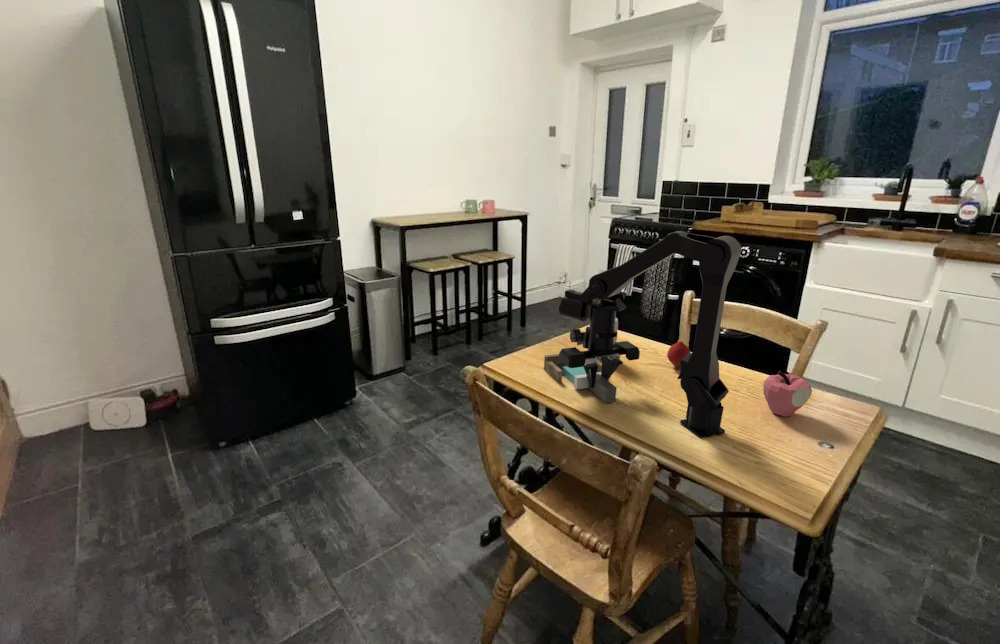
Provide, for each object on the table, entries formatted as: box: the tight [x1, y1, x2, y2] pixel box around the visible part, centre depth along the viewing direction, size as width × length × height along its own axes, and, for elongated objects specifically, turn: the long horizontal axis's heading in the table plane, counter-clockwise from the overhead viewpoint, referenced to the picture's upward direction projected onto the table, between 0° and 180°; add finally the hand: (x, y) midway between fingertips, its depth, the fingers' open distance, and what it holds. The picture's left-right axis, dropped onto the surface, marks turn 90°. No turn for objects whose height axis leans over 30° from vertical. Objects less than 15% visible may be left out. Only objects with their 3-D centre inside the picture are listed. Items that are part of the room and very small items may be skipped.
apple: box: [762, 370, 813, 417], centre depth 106 cm, size 10×9×10 cm
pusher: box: [573, 372, 617, 403], centre depth 114 cm, size 10×9×4 cm
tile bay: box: [543, 349, 602, 383], centre depth 125 cm, size 8×13×4 cm, turn 109°
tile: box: [562, 366, 598, 385], centre depth 123 cm, size 7×7×2 cm
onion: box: [666, 339, 691, 369], centre depth 129 cm, size 6×6×8 cm
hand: (596, 386), depth 115 cm, fingers closed on pusher, 3 cm apart
